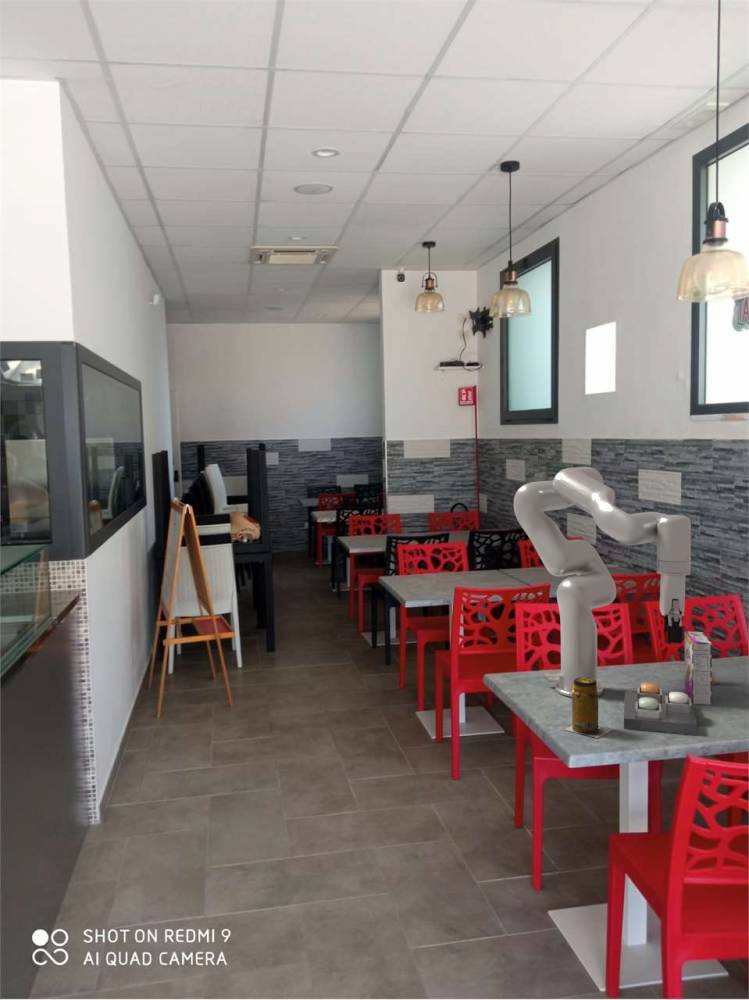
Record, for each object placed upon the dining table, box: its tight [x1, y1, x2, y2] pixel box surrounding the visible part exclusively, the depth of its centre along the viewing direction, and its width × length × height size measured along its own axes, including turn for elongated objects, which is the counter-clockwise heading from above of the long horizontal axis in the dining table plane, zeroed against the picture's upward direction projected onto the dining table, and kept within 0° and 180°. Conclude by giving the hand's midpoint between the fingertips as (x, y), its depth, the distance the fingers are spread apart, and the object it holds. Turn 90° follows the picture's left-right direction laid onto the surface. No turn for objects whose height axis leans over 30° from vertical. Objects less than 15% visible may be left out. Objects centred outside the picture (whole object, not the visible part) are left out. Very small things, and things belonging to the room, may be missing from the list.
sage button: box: [639, 697, 658, 711], centre depth 187 cm, size 4×4×2 cm
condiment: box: [564, 677, 613, 739], centre depth 184 cm, size 7×8×12 cm
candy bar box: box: [684, 631, 713, 706], centre depth 204 cm, size 11×5×16 cm, turn 168°
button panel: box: [623, 685, 698, 736], centre depth 192 cm, size 16×20×4 cm
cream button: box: [668, 691, 688, 705], centre depth 190 cm, size 4×4×2 cm
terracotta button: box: [640, 681, 660, 694], centre depth 198 cm, size 4×4×2 cm
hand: (672, 637), depth 188 cm, fingers open, 9 cm apart
